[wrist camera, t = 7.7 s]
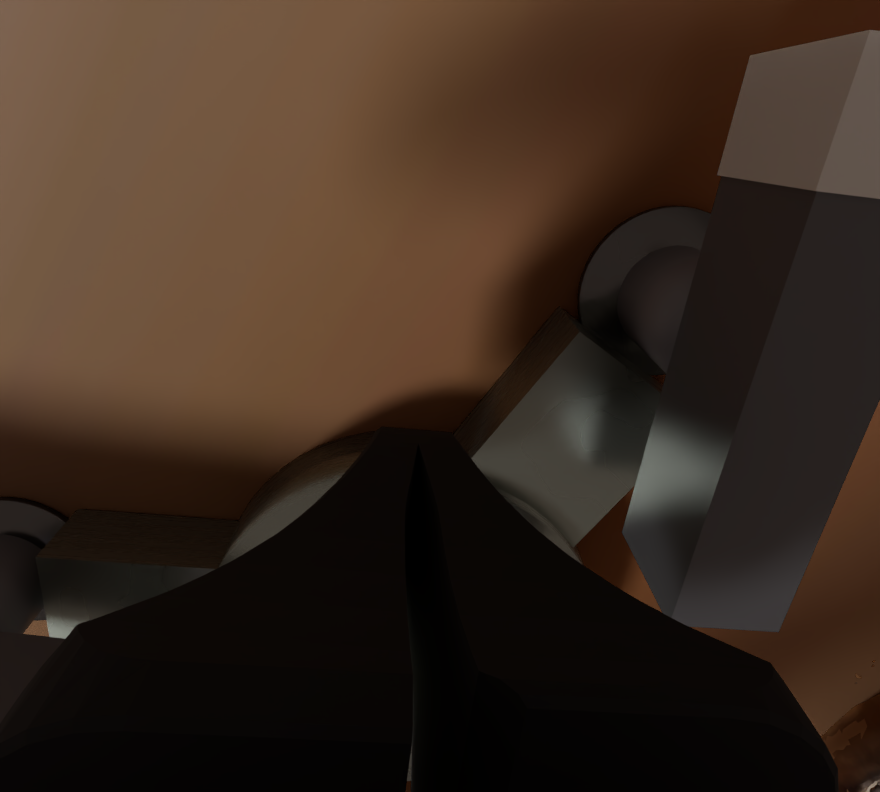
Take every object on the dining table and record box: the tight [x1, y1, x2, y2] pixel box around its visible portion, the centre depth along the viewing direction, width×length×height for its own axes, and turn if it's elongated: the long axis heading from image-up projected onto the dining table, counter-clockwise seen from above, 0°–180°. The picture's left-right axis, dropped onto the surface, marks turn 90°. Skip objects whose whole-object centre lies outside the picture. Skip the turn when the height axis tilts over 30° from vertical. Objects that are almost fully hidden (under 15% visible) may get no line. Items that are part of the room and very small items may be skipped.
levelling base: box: [0, 206, 711, 781], centre depth 14 cm, size 20×18×3 cm
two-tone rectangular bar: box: [617, 30, 880, 632], centre depth 10 cm, size 8×2×5 cm, turn 174°
